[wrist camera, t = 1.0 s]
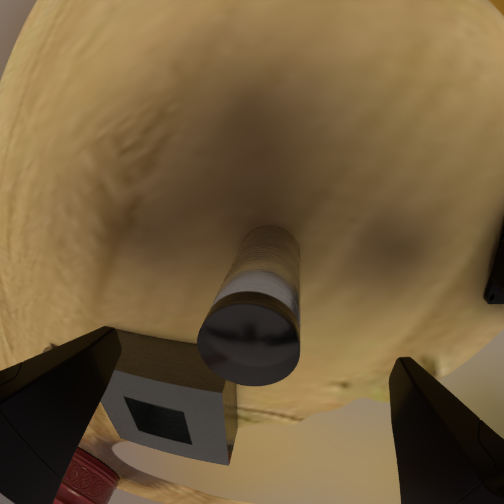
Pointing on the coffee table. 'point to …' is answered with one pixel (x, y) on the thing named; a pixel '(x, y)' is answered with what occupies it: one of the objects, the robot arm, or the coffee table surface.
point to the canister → (86, 481)
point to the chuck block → (171, 399)
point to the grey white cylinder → (256, 312)
